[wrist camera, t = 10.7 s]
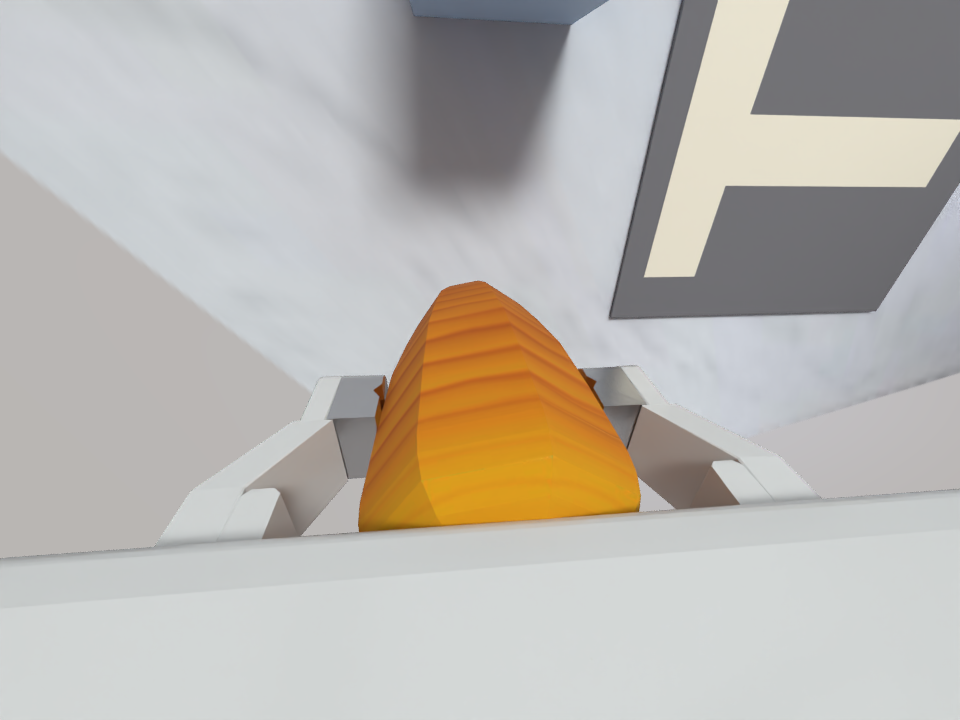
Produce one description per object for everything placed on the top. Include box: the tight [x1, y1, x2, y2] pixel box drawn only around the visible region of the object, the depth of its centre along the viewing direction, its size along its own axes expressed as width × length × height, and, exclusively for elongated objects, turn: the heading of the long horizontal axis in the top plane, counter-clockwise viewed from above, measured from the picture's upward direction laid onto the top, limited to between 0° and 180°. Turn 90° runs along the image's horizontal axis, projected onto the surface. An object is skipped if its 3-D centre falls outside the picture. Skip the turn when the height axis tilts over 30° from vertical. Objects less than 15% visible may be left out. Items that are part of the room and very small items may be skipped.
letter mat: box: [610, 0, 960, 318], centre depth 15 cm, size 14×14×1 cm
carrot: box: [358, 281, 641, 532], centre depth 9 cm, size 5×5×15 cm
